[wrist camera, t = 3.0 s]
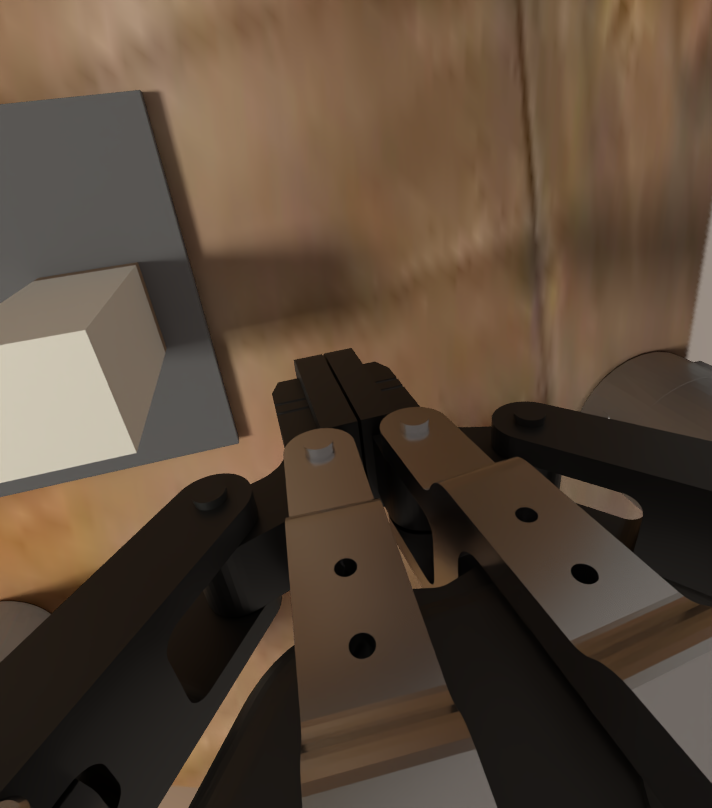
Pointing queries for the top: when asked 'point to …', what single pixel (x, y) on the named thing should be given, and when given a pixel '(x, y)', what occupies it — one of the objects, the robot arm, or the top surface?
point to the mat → (110, 253)
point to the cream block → (76, 370)
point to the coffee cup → (17, 624)
